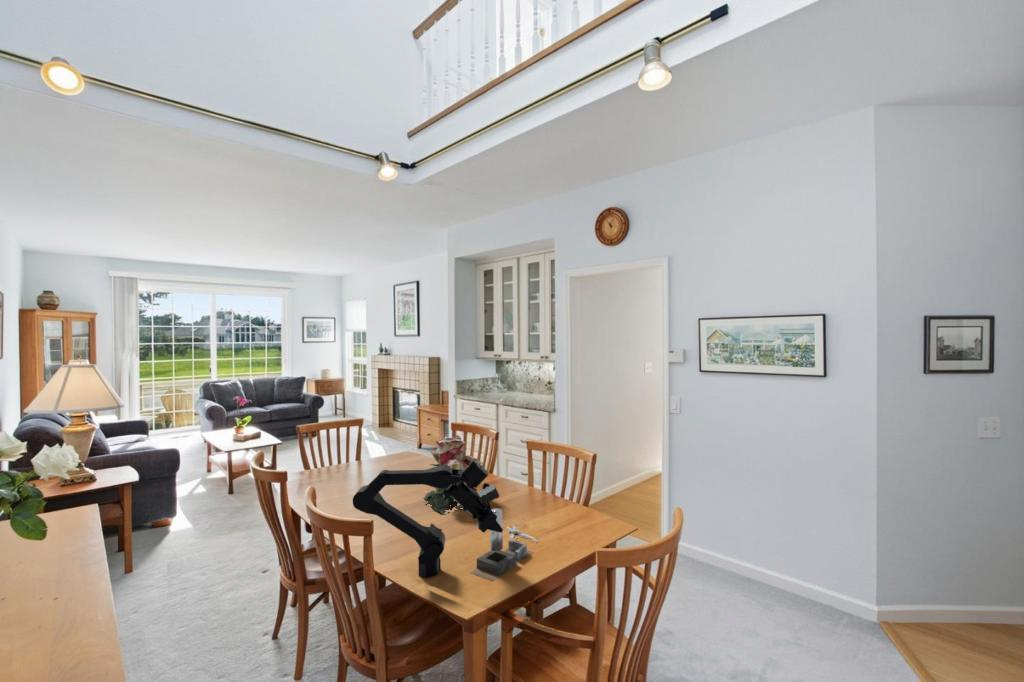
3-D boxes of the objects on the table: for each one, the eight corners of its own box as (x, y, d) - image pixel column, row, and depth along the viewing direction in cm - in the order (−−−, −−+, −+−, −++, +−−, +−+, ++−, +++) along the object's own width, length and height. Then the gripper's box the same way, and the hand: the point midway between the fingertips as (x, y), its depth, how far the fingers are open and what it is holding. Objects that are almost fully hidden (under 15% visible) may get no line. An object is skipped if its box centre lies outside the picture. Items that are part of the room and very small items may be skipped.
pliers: (513, 543, 167) (498, 528, 181) (513, 548, 167) (498, 532, 181) (538, 539, 171) (521, 524, 185) (538, 543, 171) (521, 528, 185)
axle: (497, 552, 147) (497, 513, 147) (487, 548, 150) (487, 511, 150) (505, 547, 151) (504, 510, 151) (495, 544, 153) (494, 507, 153)
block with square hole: (492, 586, 141) (492, 571, 141) (469, 577, 146) (469, 563, 146) (533, 556, 160) (533, 543, 160) (512, 549, 165) (512, 537, 165)
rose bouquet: (446, 518, 194) (445, 446, 194) (416, 499, 218) (415, 435, 218) (497, 505, 210) (496, 438, 209) (463, 488, 233) (463, 428, 233)
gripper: (489, 486, 140) (525, 519, 143) (478, 469, 158) (510, 499, 161) (463, 516, 138) (500, 548, 141) (455, 495, 156) (488, 524, 159)
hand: (500, 528), depth 151 cm, fingers closed on axle, 4 cm apart
